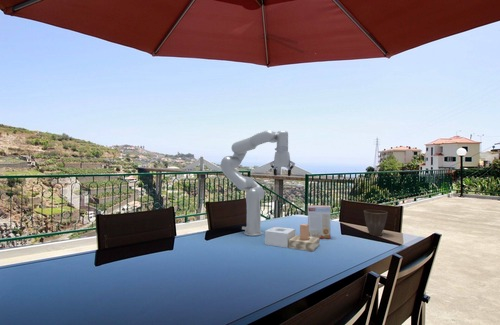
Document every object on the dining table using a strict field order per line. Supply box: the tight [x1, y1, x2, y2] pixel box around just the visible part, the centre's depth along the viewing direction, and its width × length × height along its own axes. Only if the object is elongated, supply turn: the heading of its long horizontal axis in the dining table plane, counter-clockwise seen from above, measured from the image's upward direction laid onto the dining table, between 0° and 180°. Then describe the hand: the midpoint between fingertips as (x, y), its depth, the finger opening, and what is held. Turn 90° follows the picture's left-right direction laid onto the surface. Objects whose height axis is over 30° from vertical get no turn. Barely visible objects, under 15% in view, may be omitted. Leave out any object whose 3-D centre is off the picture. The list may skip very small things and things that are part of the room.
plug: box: [299, 223, 309, 241], centre depth 169 cm, size 4×4×12 cm
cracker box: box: [307, 204, 331, 240], centre depth 190 cm, size 14×6×21 cm, turn 84°
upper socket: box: [264, 226, 296, 249], centre depth 176 cm, size 14×14×8 cm
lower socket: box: [288, 234, 321, 252], centre depth 169 cm, size 14×14×4 cm
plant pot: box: [363, 209, 388, 237], centre depth 199 cm, size 15×15×16 cm
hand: (282, 175), depth 192 cm, fingers open, 9 cm apart
